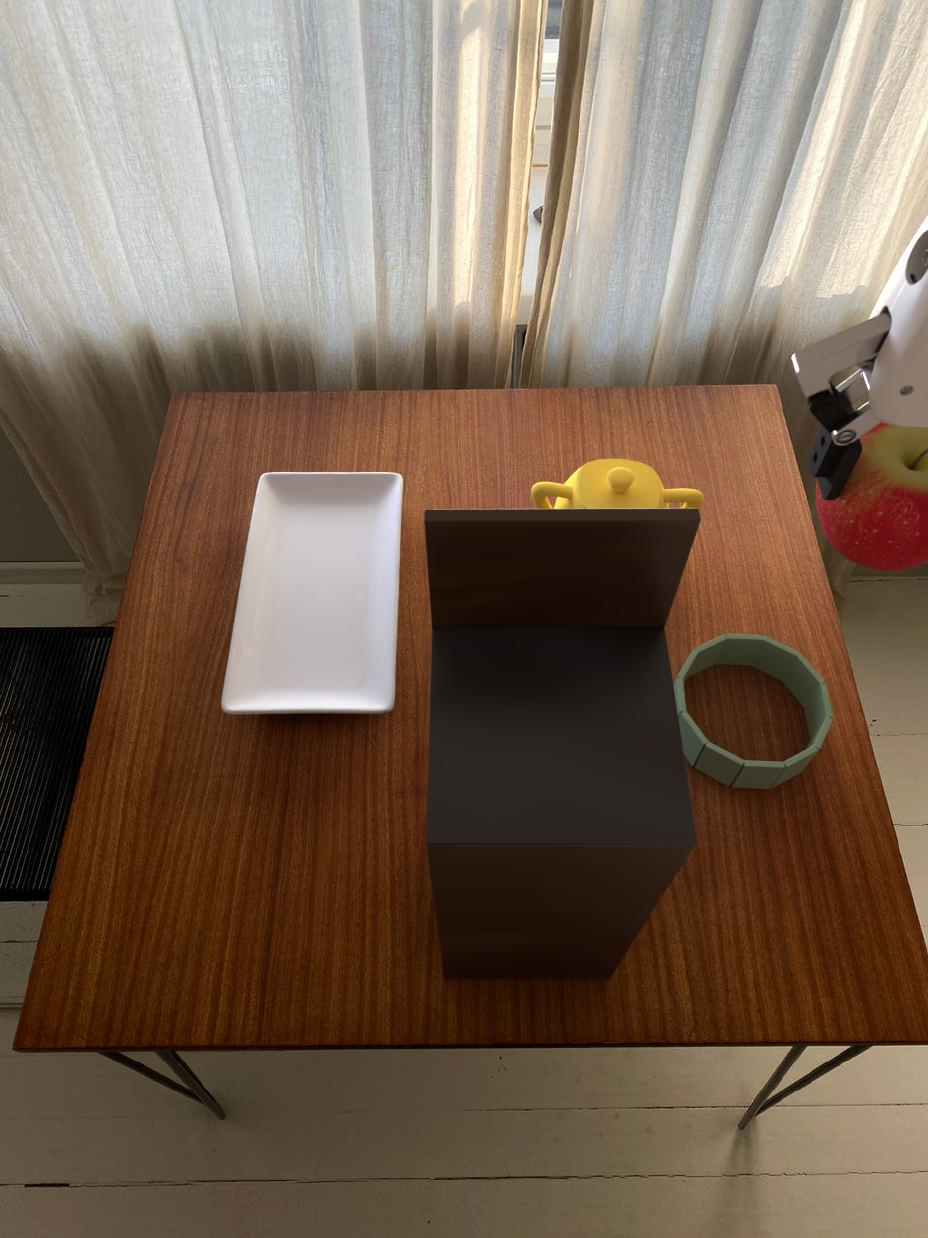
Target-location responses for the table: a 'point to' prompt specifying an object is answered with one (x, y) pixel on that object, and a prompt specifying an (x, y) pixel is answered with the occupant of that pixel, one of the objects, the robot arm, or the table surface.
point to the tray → (318, 596)
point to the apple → (882, 502)
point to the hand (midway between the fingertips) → (904, 480)
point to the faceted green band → (776, 664)
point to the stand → (552, 735)
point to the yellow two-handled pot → (613, 488)
